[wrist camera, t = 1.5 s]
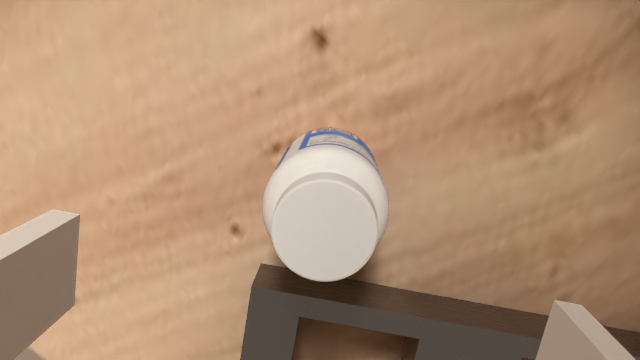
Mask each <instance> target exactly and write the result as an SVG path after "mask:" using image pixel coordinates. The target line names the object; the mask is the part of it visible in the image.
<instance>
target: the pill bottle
mask: <svg viewBox="0 0 640 360" xmlns="http://www.w3.org/2000/svg"><path fill="white" fill-rule="evenodd" d="M262 210H263V219H264V223H265V227H266V230H267V232H268V234H269V236H270V238H271V240H272V243H273V246H274V248H275V251H276V253H277V255H278V256H279V258H280V259H281V260H282V262H283V263H284V264H285V265H286V266H287V267H288V268H289V269H290V270H292V271H293V272H295V273H296V274H298V275H300V276H302V277H304V278H307V279H310V280H314V281H322V282H329V281H337V280H340V279H344V278H346V277H349V276H350V275H352V274H354V273H356V272H357V271H359V270H360V269H361V268H362V267H363V266H364V265H365V264H366V263H367V261H368V260H369V259H370V257H371V256H372V254H373V252H374V250H375V247H376V246H377V244H378V243H379V241H380V240H381V238H382V236H383V234H384V232H385V229H386V226H387V222H388V216H389V202H388V195H387V192H386V188H385V185H384V182H383V180H382V177H381V174H380V172H379V169H378V167H377V164H376V162H375V159H374V157H373V155H372V153H371V151H370V150H369V148H368V147H367V146H366V145H365V143H364V142H363V141H362V140H361V139H359V138H358V137H357V136H355V135H354V134H352V133H350V132H347V131H345V130H341V129H337V128H321V129H316V130H313V131H310V132H307V133H305V134H304V135H302V136H300V137H299V138H298V139H296V140H295V141H294V142H293V143H292V144H291V145H290V147H289V148H288V149H287V151H286V152H285V154H284V155H283V157H282V159H281V161H280V162H279V164H278V166H277V168H276V169H275V171H274V172H273V174H272V176H271V178H270V180H269V182H268V184H267V187H266V189H265V193H264V197H263V208H262Z"/></svg>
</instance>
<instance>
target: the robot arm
mask: <svg viewBox="0 0 640 360" xmlns="http://www.w3.org/2000/svg"><path fill="white" fill-rule="evenodd" d="M79 222H80V214H76V213H71V212H65V211H59V210H54V209H52V210H50V211H48V212H46V213H44V214H42V215H40V216H38V217H36V218H34V219H32V220H30V221H28V222H26V223H24V224H22V225H20V226H18V227H16V228H14V229H12V230H10V231H8V232H6V233H4V234H2V235H0V360H14V359H15V358H16V357H17V356H18V355H19V354H20V353H21V352H23V351H24V350H25V349H26V348H27V347H28V346H29V345H30V344H32V343H33V342H34V341H35V340H36V339H37V338H38V337H39V336H40V335H42V334H43V333H44V332H45V331H46V330H47V329H48V328H49V327H50V326H51V325H53V324H54V323H55V322H56V321H57V320H58V319H59V318H60V317H61V316H63V315H64V314H65V313H66V312H67V311H68V310H69V309H70V308H71V307H73V306H74V301H75V286H76V270H77V254H78V238H79ZM535 360H636V359H635V358H634V357H633V356H632V355H631V354H630V353H629V352H628V351H627V350H626V349H625V348H624V347H623V346H622V345H621V344H620V343H619V342H618V341H617V340H616V339H615V338H614V337H613V336H612V335H611V334H610V333H609V332H608V331H607V330H606V329H605V328H604V327H603V326H602V325H601V324H600V323H599V322H598V321H597V320H596V319H595V318H594V317H593V316H592V315H591V314H590V313H589V312H588V311H587V310H586V309H585V308H584V307H583V306H582V305H580V304H574V303H569V302H563V301H558V300H554V302H553V305H552V308H551V311H550V314H549V318H548V321H547V324H546V327H545V330H544V334H543V337H542V340H541V343H540V346H539V350H538V353H537V356H536V359H535Z"/></svg>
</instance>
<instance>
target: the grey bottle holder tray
mask: <svg viewBox="0 0 640 360" xmlns="http://www.w3.org/2000/svg"><path fill="white" fill-rule="evenodd" d="M299 317H303V318H308V319H314V320H319V321H325V322H330V323H335V324H341V325H346V326H352V327H357V328H363V329H368V330H374V331H379V332H384V333H390V334H395V335H401V336H406V339H405V343H404V348H403V352H402V356H401V360H521V359H522V358H526V359H532V360H535V359H536V356H537V353H538V350H539V346H540V343H541V340H542V337H543V334H544V330H545V327H546V324H547V321H548V318H549V316H545V315H540V314H534V313H529V312H524V311H518V310H513V309H507V308H502V307H496V306H491V305H485V304H480V303H474V302H469V301H463V300H458V299H452V298H447V297H442V296H436V295H431V294H425V293H420V292H414V291H409V290H403V289H398V288H392V287H387V286H381V285H376V284H370V283H365V282H359V281H354V280H349V279H340V280H337V281H329V282H322V281H314V280H310V279H307V278H304V277H302V276H300V275H298V274H296V273H295V272H293V271H292V270H290V269H288V268H283V267H277V266H272V265H267V264H261V265H260V267H259V270H258V272H257V275H256V277H255V279H254V282H253V284H252V287H251V294H250V300H249V307H248V313H247V320H246V326H245V333H244V339H243V346H242V353H241V359H240V360H291V359H292V354H293V348H294V343H295V337H296V332H297V326H298V321H299ZM603 327H604V328H605V329H606V330H607V331H608V332H609V333H610V334H611V335H612V336H613V337H614V338H615V339H616V340H617V341H618V342H619V343H620V344H621V345H622V346H623V347H624V348H625V349H626V350H627V351H628V352H629V353H630V354H631V355H632V356H633V357H634V358H635V359H636V360H640V333H638V332H633V331H627V330H622V329H617V328H611V327H606V326H603Z"/></svg>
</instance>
